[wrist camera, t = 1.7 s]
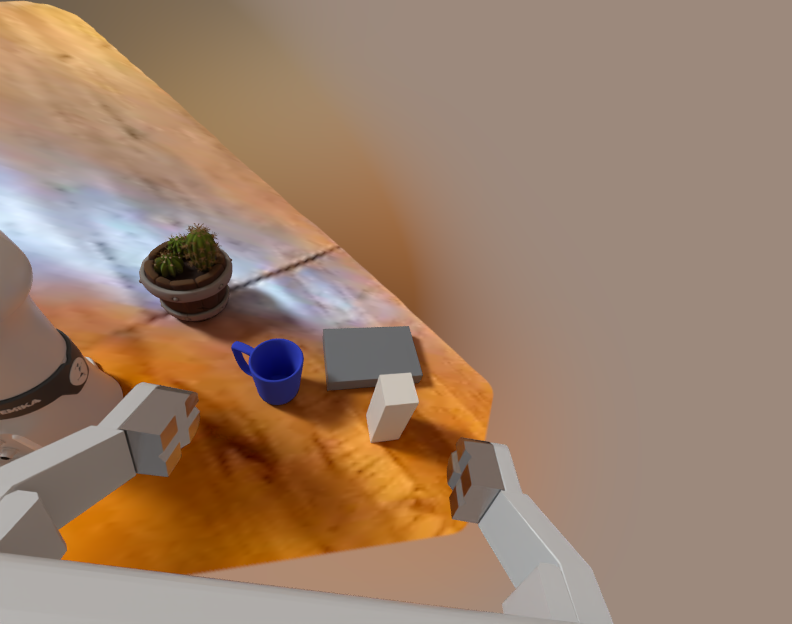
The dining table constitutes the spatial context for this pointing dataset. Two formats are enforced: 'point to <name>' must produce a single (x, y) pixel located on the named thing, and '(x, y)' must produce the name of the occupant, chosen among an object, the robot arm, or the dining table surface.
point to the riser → (368, 356)
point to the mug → (272, 368)
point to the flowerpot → (189, 275)
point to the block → (391, 406)
